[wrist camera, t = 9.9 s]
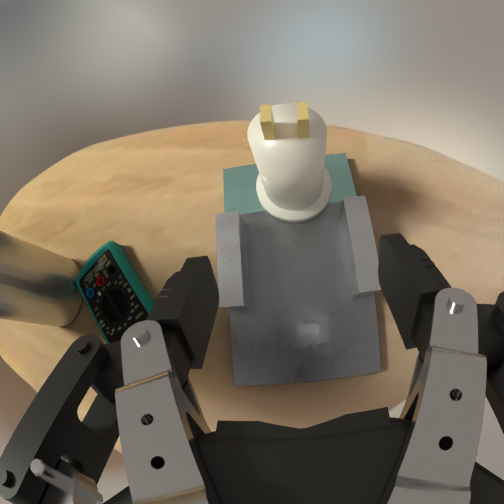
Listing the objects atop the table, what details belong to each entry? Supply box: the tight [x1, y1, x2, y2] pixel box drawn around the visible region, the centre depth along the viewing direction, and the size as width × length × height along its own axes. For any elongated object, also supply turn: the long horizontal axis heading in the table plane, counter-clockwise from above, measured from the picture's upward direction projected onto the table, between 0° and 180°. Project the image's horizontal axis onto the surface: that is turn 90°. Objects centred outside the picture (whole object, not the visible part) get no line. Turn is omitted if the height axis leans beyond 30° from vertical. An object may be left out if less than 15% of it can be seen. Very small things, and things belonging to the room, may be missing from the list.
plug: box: [248, 102, 332, 223], centre depth 22 cm, size 7×7×11 cm
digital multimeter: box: [75, 241, 155, 344], centre depth 27 cm, size 7×15×3 cm, turn 40°
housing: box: [216, 153, 382, 386], centre depth 24 cm, size 13×22×4 cm, turn 4°
